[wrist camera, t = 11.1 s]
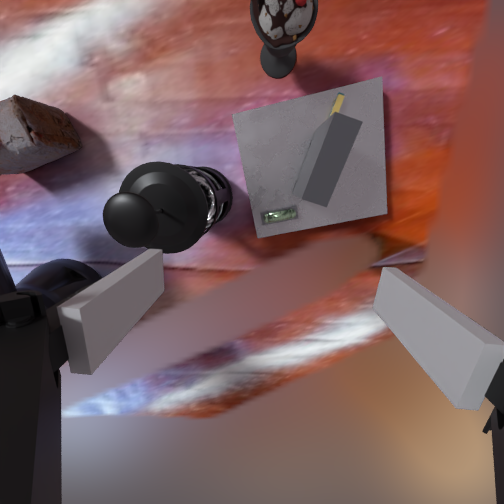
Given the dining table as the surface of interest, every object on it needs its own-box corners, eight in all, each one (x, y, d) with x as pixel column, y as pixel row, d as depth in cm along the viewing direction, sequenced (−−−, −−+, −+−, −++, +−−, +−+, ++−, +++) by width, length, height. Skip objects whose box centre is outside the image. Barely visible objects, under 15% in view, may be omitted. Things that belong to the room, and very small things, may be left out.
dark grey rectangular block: (311, 199, 35) (326, 207, 26) (292, 193, 35) (301, 199, 26) (351, 100, 31) (384, 70, 22) (329, 92, 31) (355, 59, 22)
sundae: (310, 69, 33) (345, -14, 19) (266, 94, 34) (267, 34, 20) (291, 16, 31) (314, -119, 17) (246, 44, 32) (232, -60, 18)
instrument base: (258, 234, 40) (257, 241, 36) (234, 119, 35) (230, 111, 31) (378, 210, 38) (393, 215, 34) (371, 85, 33) (389, 70, 28)
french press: (231, 161, 37) (182, 139, 15) (240, 219, 40) (212, 272, 18) (160, 173, 38) (21, 168, 16) (175, 229, 41) (72, 289, 19)
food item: (20, 181, 40) (-54, 182, 30) (-9, 132, 38) (-100, 117, 28) (88, 152, 38) (30, 145, 28) (61, 99, 36) (-11, 72, 26)
